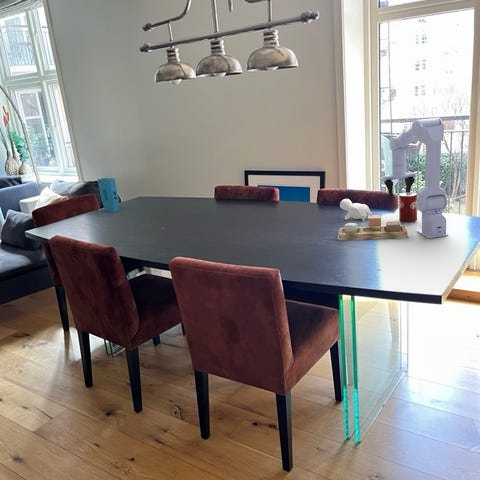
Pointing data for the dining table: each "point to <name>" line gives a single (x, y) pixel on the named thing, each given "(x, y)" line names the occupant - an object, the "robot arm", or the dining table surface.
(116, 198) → the block
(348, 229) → the seated pieces
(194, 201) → the dining table surface
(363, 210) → the white figurine
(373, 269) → the dining table surface
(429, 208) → the robot arm
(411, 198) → the soda can
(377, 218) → the terracotta block
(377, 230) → the oak tray
